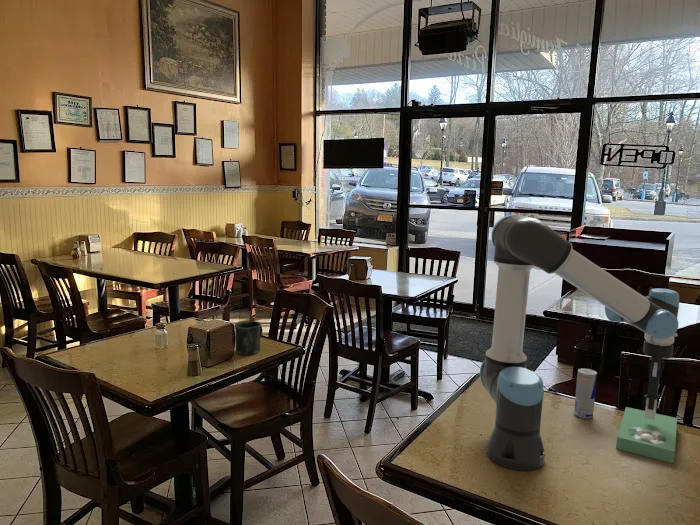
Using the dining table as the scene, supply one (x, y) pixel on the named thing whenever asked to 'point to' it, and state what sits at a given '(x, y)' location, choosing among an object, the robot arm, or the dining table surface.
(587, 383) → the beverage can
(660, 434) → the green
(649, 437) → the ball
